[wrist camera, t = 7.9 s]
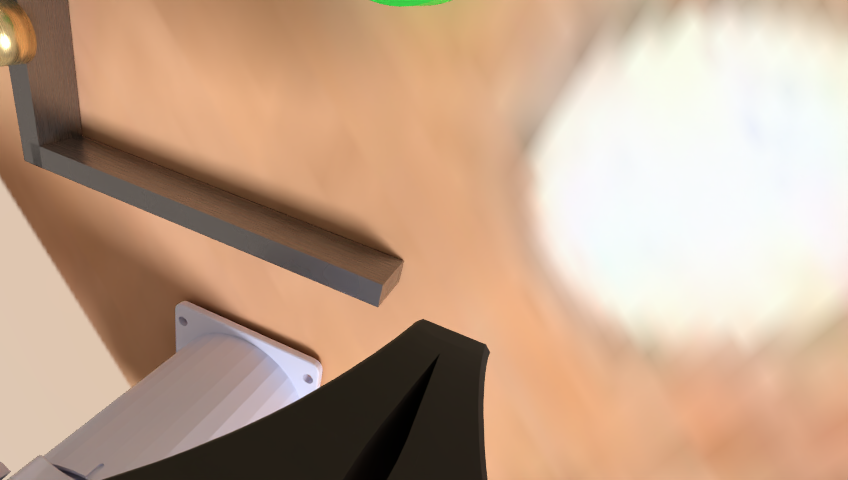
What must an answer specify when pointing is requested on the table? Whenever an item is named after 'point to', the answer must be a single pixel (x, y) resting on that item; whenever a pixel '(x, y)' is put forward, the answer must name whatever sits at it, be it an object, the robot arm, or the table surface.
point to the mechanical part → (410, 2)
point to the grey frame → (155, 185)
